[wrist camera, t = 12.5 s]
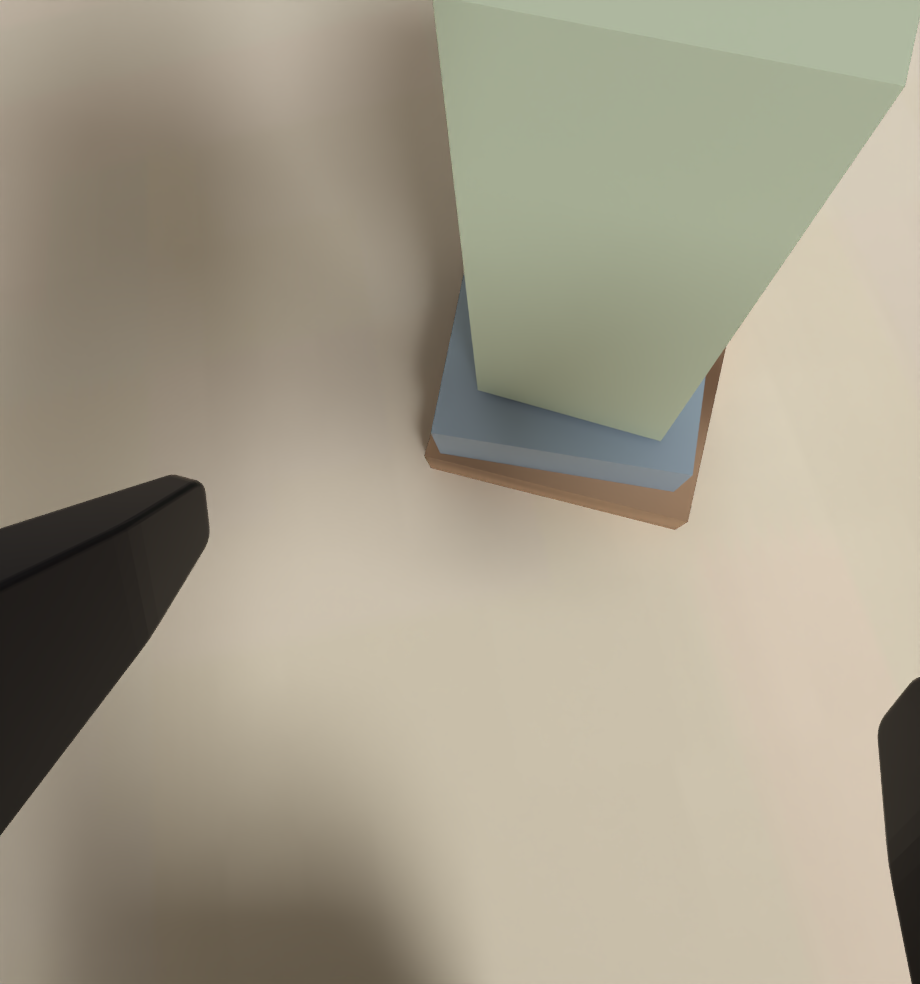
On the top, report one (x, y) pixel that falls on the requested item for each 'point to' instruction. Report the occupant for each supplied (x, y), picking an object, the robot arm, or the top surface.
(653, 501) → the walnut base block
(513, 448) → the slate top block
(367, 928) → the top surface
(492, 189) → the sage block
